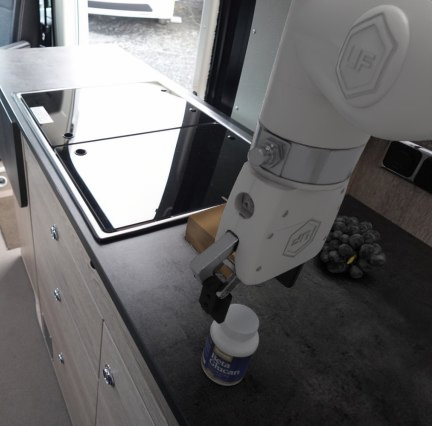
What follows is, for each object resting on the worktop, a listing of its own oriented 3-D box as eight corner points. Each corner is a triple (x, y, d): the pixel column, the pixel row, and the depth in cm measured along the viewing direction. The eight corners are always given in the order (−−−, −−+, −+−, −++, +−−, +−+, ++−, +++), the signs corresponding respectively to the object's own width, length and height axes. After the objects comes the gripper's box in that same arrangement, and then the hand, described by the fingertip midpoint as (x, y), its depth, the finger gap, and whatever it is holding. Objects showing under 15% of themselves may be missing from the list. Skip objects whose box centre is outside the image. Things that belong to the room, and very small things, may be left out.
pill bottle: (199, 381, 45) (214, 332, 39) (201, 343, 49) (215, 294, 43) (245, 392, 44) (268, 344, 38) (243, 352, 48) (264, 303, 42)
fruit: (337, 185, 65) (354, 236, 53) (381, 206, 64) (408, 263, 53) (304, 219, 70) (313, 273, 58) (344, 240, 70) (361, 298, 58)
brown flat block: (291, 255, 63) (301, 232, 60) (231, 282, 58) (239, 258, 55) (234, 212, 73) (240, 190, 70) (178, 232, 67) (182, 209, 64)
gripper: (257, 204, 23) (205, 359, 33) (415, 146, 29) (331, 290, 40) (182, 150, 28) (158, 299, 38) (331, 112, 35) (276, 247, 45)
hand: (246, 294), depth 39 cm, fingers open, 9 cm apart
